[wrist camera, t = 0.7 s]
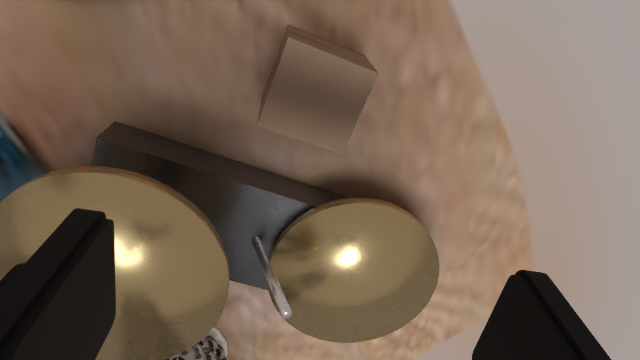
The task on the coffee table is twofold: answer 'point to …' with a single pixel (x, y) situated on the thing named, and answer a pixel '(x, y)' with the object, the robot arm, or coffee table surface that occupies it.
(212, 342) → the decorative candle
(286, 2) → the coffee table surface
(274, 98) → the walnut block
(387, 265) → the balance
